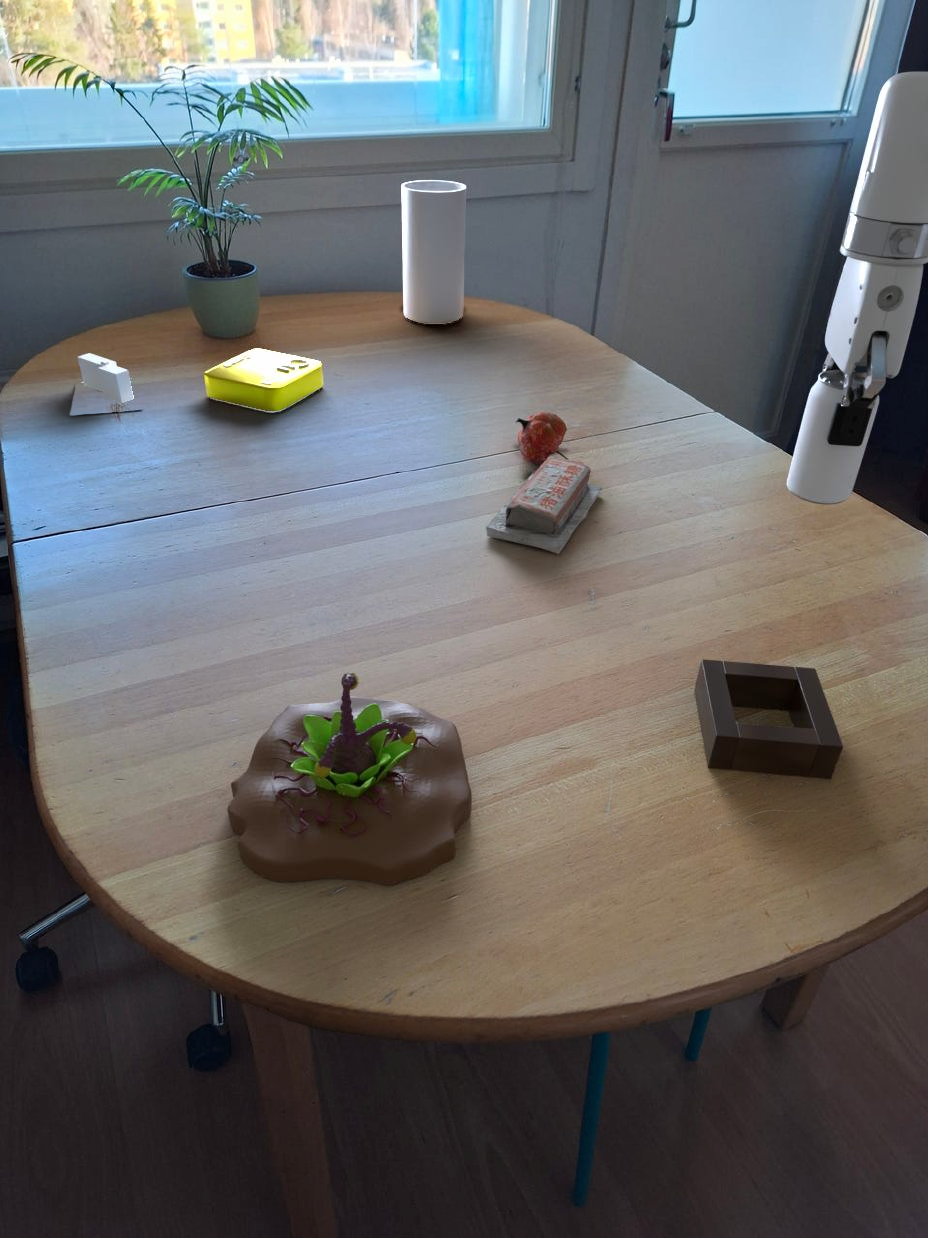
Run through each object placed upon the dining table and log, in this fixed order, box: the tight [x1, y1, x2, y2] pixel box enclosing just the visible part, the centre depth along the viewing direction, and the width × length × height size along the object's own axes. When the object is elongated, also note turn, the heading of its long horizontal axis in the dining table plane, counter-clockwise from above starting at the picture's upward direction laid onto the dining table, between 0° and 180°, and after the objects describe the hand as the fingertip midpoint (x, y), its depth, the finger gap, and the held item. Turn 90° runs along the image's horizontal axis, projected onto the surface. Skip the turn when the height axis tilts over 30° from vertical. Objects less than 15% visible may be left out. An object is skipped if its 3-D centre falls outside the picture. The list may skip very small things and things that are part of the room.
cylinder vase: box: [401, 179, 467, 323], centre depth 176 cm, size 12×12×25 cm
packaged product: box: [485, 456, 603, 555], centre depth 113 cm, size 18×5×10 cm
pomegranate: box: [515, 411, 570, 465], centre depth 127 cm, size 7×7×10 cm
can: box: [786, 370, 880, 506], centre depth 88 cm, size 6×6×12 cm
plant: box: [227, 672, 473, 886], centre depth 71 cm, size 20×20×11 cm
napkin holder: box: [77, 352, 134, 403], centre depth 142 cm, size 15×11×6 cm
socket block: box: [694, 658, 844, 780], centre depth 81 cm, size 11×11×4 cm
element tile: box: [203, 348, 325, 411], centre depth 146 cm, size 15×15×5 cm
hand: (835, 427), depth 87 cm, fingers closed on can, 6 cm apart
